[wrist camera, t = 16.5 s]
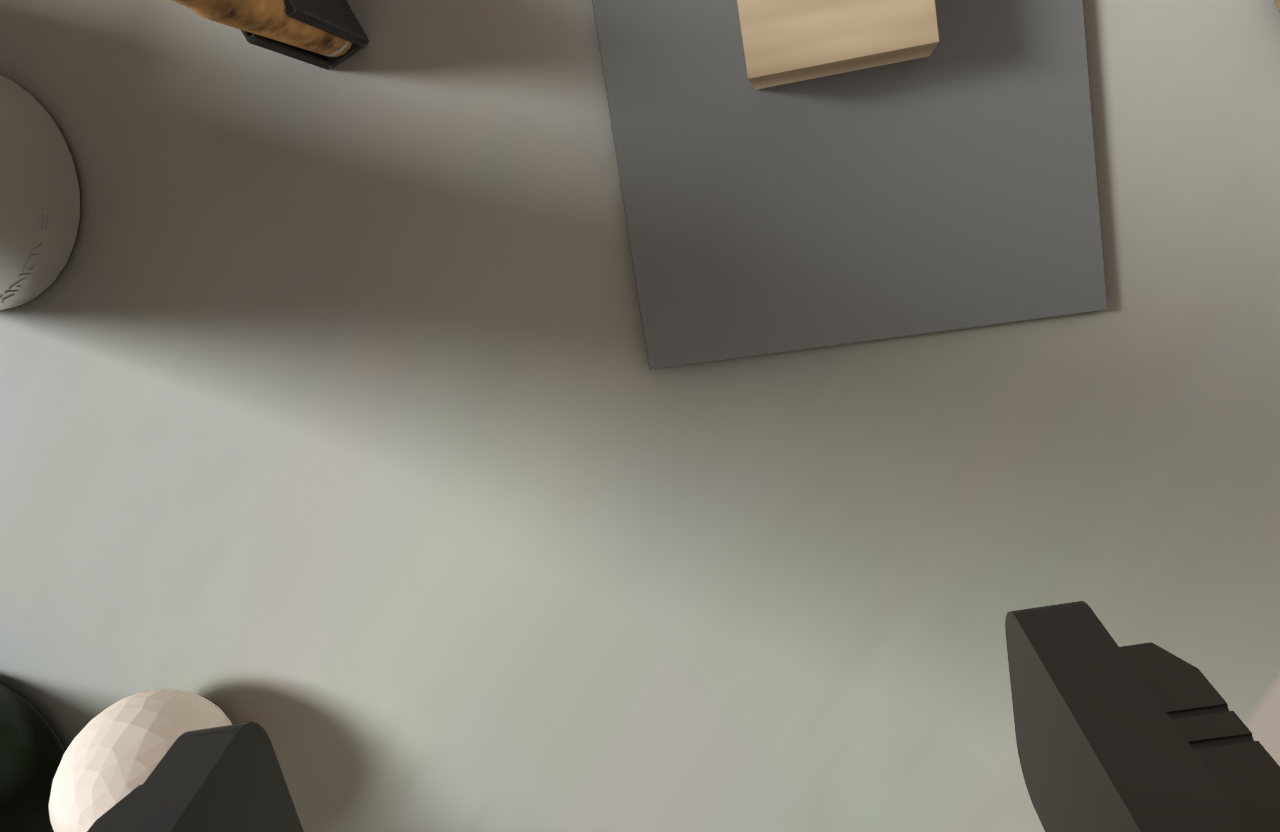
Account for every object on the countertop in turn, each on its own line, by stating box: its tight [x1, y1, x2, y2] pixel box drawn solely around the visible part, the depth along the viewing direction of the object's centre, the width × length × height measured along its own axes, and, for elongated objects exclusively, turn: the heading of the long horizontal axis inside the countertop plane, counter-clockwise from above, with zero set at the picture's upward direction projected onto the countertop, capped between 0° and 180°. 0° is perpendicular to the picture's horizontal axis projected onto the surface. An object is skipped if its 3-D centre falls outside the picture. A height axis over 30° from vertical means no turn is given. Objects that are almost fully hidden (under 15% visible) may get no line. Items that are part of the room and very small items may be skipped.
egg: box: [48, 689, 232, 832], centre depth 39 cm, size 6×6×8 cm
